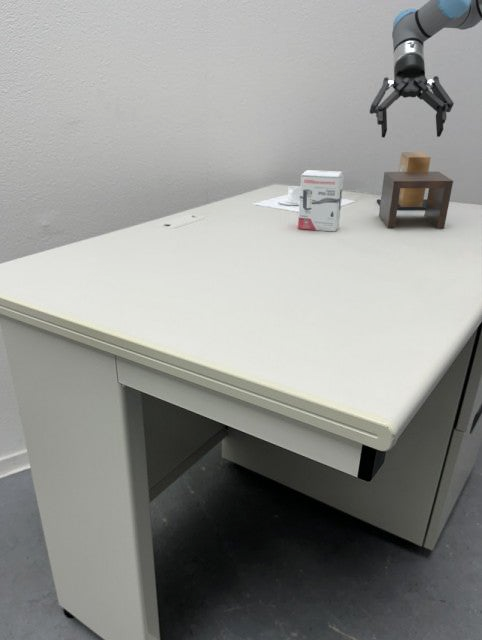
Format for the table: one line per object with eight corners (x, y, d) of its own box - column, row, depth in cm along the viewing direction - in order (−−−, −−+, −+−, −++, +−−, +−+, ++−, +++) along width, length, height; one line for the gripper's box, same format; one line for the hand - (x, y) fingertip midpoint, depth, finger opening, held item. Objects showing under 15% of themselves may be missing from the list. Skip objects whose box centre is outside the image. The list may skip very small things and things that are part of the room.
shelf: (430, 215, 129) (438, 171, 124) (444, 228, 119) (453, 180, 114) (378, 215, 130) (384, 171, 126) (387, 228, 120) (394, 181, 115)
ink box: (296, 229, 121) (300, 173, 115) (301, 224, 125) (305, 169, 120) (335, 232, 118) (341, 174, 113) (339, 226, 122) (345, 170, 117)
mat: (431, 201, 142) (432, 199, 142) (441, 210, 134) (442, 207, 133) (376, 201, 144) (376, 199, 144) (383, 210, 135) (383, 207, 135)
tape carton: (414, 199, 142) (422, 152, 137) (422, 207, 134) (431, 157, 129) (394, 199, 143) (401, 152, 137) (401, 207, 135) (408, 157, 129)
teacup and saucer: (291, 198, 150) (292, 182, 148) (315, 201, 145) (317, 186, 143) (271, 203, 145) (272, 187, 143) (296, 207, 140) (297, 191, 138)
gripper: (362, 55, 141) (364, 123, 135) (463, 51, 138) (469, 121, 133) (357, 78, 148) (358, 144, 143) (453, 75, 145) (458, 142, 140)
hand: (412, 133), depth 138 cm, fingers open, 13 cm apart
